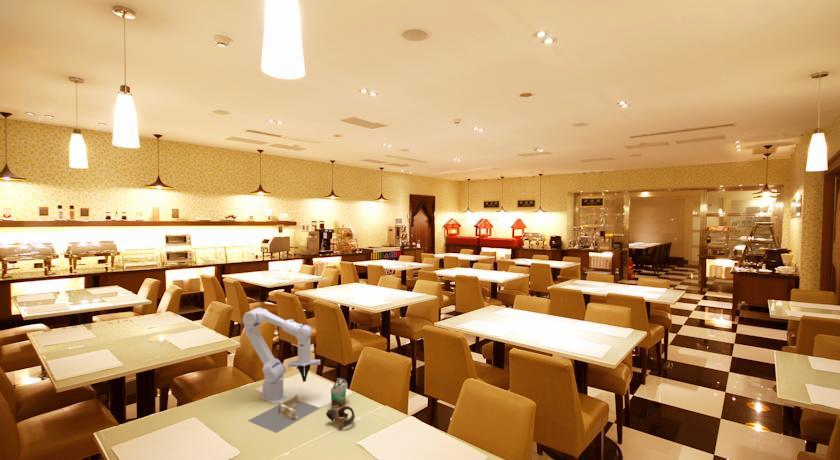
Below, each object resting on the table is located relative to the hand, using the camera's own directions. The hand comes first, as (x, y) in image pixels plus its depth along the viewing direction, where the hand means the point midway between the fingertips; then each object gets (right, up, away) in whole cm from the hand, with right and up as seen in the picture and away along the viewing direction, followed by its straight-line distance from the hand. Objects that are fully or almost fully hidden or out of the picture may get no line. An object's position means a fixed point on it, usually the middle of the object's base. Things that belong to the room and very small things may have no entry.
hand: (304, 380), depth 189 cm
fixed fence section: (-5, -9, -7) cm, 13 cm away
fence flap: (-3, -9, -15) cm, 18 cm away
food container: (+18, -10, -3) cm, 20 cm away
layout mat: (-5, -10, -13) cm, 17 cm away
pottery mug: (+21, -11, -20) cm, 31 cm away
